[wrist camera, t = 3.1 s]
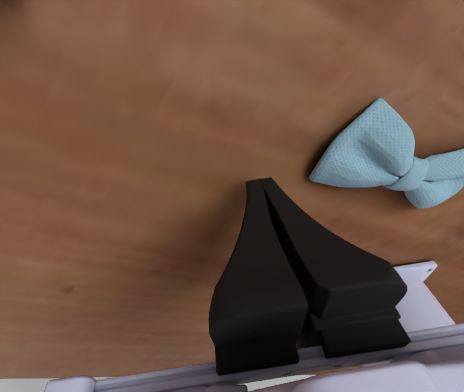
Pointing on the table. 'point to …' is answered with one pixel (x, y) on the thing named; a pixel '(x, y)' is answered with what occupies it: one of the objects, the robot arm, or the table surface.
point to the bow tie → (388, 160)
